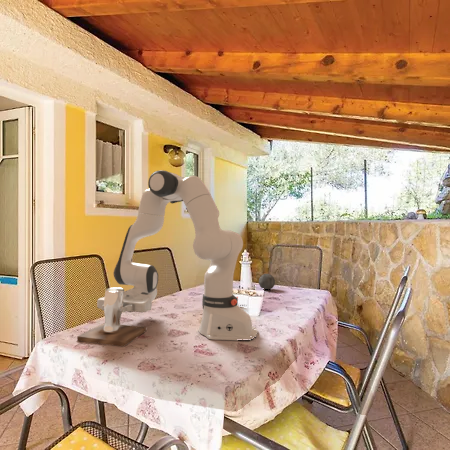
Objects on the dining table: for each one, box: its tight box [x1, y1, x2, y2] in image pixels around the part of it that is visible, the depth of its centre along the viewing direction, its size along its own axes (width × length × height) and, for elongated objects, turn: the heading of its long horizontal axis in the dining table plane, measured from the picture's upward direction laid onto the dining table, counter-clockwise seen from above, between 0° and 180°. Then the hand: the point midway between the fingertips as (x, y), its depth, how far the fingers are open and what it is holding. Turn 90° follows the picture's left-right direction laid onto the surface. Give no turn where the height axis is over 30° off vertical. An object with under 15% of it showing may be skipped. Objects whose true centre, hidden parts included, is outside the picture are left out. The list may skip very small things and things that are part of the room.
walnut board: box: [76, 322, 147, 347], centre depth 122 cm, size 18×16×2 cm
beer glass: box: [103, 287, 125, 333], centre depth 122 cm, size 7×7×15 cm
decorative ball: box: [258, 273, 276, 290], centre depth 209 cm, size 10×10×10 cm
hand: (112, 309), depth 121 cm, fingers closed on beer glass, 6 cm apart
